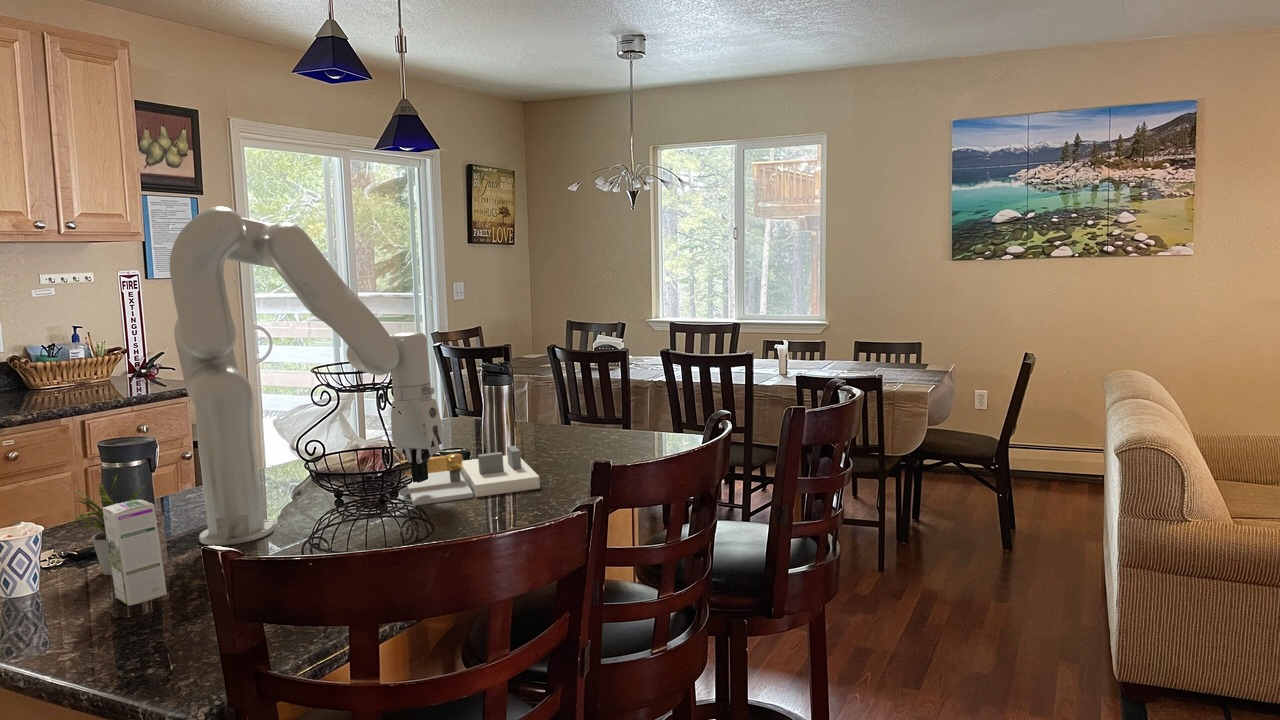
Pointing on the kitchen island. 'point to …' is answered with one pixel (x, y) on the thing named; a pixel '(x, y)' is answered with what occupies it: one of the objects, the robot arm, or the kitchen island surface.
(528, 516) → the kitchen island surface
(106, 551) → the house plant
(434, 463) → the latch bar
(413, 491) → the door mock-up
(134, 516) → the syrup box
